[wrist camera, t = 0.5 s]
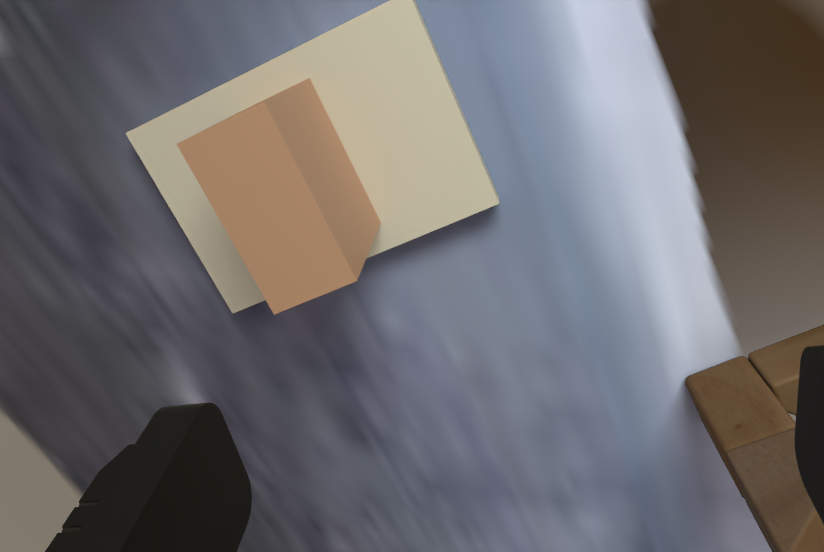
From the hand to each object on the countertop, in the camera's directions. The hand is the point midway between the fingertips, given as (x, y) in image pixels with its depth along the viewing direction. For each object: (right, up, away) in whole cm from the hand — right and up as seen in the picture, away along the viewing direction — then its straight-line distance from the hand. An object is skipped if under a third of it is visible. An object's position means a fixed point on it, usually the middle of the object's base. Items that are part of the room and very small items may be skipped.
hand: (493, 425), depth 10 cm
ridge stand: (-6, +8, +27) cm, 29 cm away
